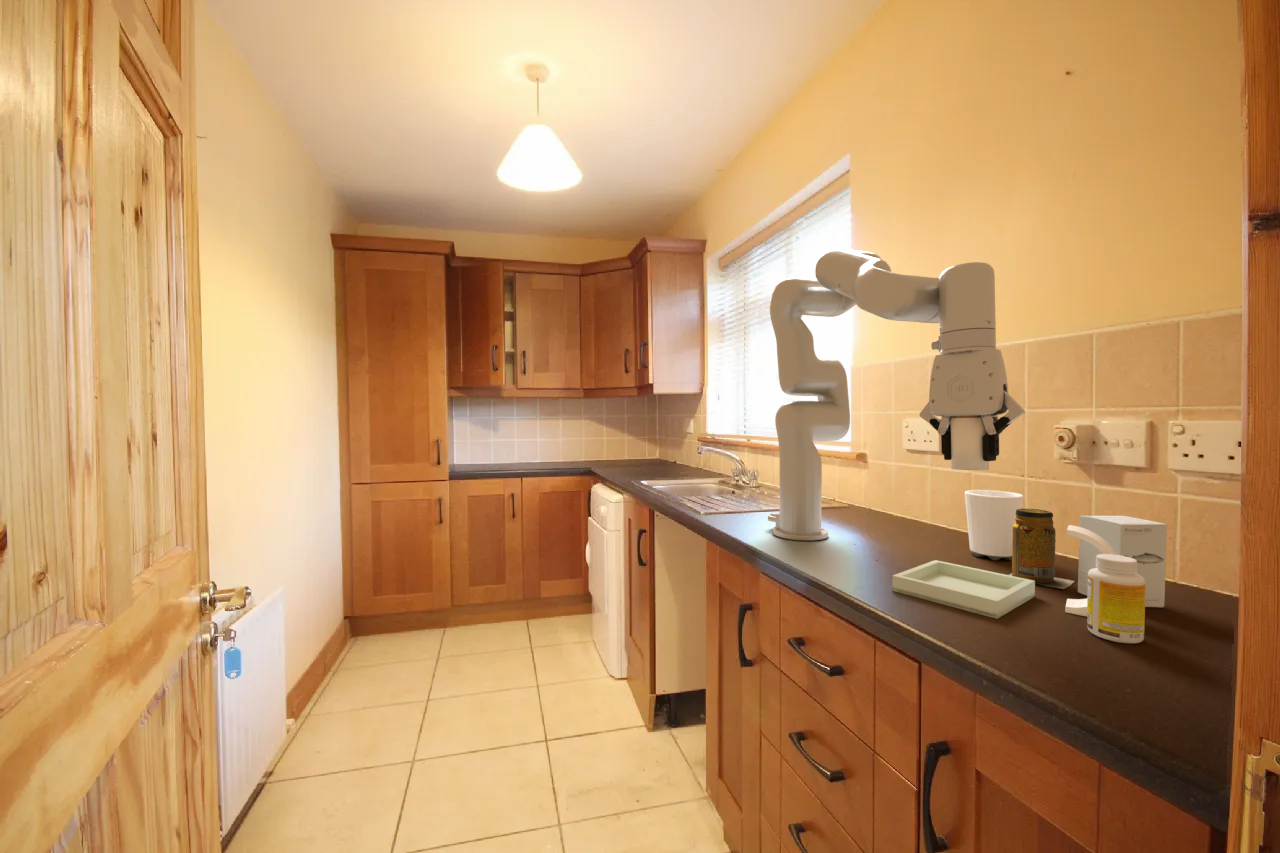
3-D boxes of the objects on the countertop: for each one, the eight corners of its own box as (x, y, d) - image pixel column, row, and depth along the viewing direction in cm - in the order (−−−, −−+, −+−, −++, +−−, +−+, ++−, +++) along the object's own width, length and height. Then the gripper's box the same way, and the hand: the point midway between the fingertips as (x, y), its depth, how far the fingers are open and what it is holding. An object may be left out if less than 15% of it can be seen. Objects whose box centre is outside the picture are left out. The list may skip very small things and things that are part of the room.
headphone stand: (1067, 603, 81) (1068, 524, 81) (1120, 613, 77) (1122, 530, 77) (1065, 612, 78) (1066, 529, 77) (1120, 623, 74) (1123, 536, 73)
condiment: (1016, 571, 98) (1017, 505, 98) (1075, 582, 92) (1076, 512, 91) (1003, 578, 94) (1004, 510, 93) (1063, 591, 87) (1064, 517, 87)
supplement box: (1118, 609, 79) (1120, 523, 79) (1076, 592, 86) (1077, 514, 86) (1167, 608, 79) (1169, 523, 79) (1120, 592, 87) (1122, 513, 86)
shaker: (945, 469, 85) (944, 410, 85) (959, 467, 88) (958, 411, 88) (981, 470, 81) (979, 409, 81) (994, 468, 84) (993, 410, 84)
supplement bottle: (1156, 645, 67) (1158, 563, 66) (1111, 645, 67) (1113, 563, 66) (1117, 627, 72) (1119, 552, 72) (1075, 627, 72) (1077, 552, 72)
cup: (953, 550, 113) (953, 490, 112) (997, 549, 113) (998, 489, 113) (986, 563, 103) (987, 497, 103) (1035, 562, 103) (1036, 496, 103)
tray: (892, 590, 87) (892, 575, 87) (935, 573, 96) (935, 560, 96) (997, 618, 75) (997, 601, 75) (1034, 596, 84) (1034, 580, 84)
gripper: (901, 349, 89) (903, 459, 89) (1022, 333, 75) (1024, 463, 75) (923, 353, 94) (925, 457, 93) (1040, 338, 80) (1043, 461, 80)
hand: (969, 459), depth 84 cm, fingers closed on shaker, 5 cm apart
